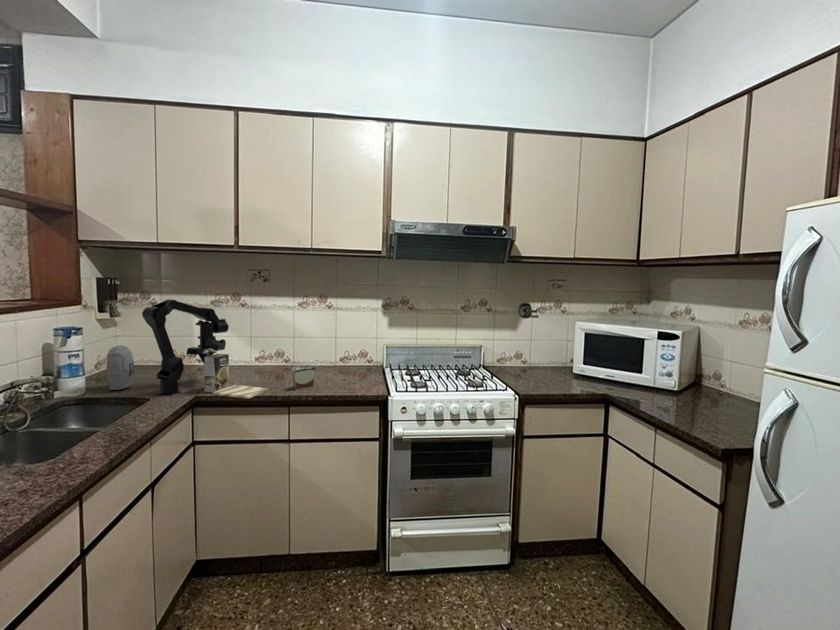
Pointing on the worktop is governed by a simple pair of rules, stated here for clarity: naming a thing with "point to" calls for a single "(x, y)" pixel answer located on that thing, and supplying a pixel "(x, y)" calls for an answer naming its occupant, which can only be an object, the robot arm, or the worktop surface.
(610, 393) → the worktop surface
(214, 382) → the coffee box
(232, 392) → the cutting board
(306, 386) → the food container
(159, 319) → the robot arm
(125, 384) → the grey rounded bag
